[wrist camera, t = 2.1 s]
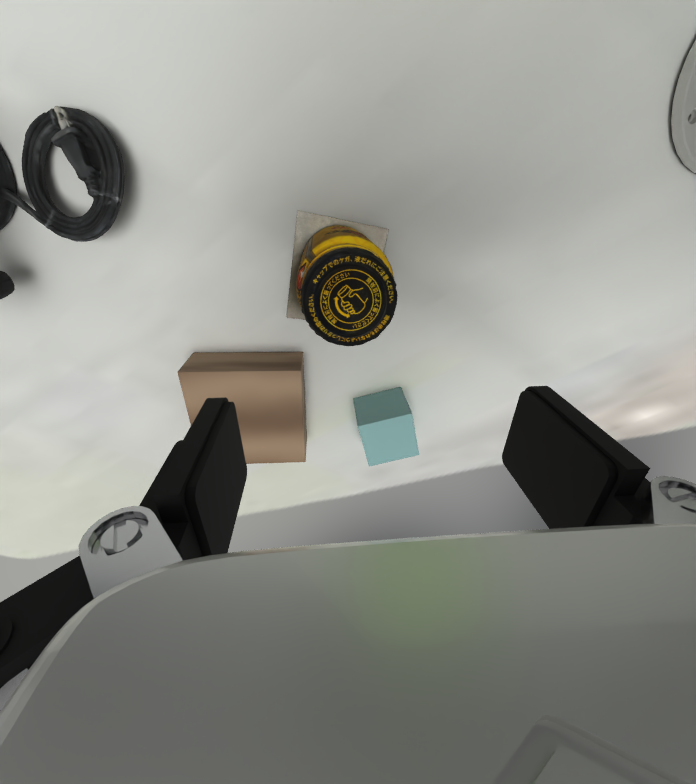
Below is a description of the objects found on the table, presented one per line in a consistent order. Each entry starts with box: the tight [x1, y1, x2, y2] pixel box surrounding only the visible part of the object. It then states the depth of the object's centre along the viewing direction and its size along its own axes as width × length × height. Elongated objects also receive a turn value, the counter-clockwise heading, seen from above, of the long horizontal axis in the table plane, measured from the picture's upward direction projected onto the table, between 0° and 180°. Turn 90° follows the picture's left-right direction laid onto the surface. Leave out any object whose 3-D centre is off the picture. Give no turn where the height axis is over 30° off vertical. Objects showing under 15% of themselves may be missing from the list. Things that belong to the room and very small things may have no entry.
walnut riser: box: [178, 352, 307, 464], centre depth 32 cm, size 10×10×4 cm
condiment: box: [287, 211, 397, 346], centre depth 23 cm, size 7×8×12 cm
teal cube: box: [353, 387, 419, 466], centre depth 34 cm, size 5×5×5 cm
